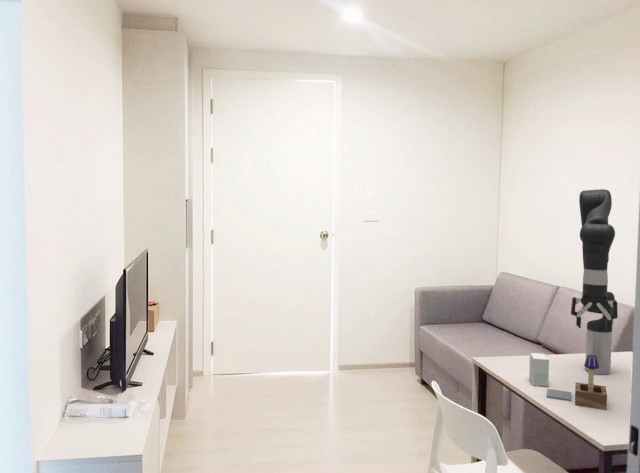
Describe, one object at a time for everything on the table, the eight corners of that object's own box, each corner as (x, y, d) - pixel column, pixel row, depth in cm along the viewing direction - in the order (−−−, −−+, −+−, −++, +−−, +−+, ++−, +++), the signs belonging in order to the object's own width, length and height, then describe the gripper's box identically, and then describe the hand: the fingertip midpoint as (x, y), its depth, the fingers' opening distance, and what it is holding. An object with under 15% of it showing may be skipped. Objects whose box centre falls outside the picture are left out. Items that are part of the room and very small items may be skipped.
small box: (548, 386, 204) (549, 359, 204) (532, 385, 205) (533, 358, 205) (544, 379, 212) (545, 353, 211) (528, 378, 213) (529, 352, 212)
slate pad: (547, 390, 201) (547, 388, 201) (571, 393, 197) (571, 392, 197) (546, 397, 194) (546, 395, 193) (571, 401, 190) (571, 399, 190)
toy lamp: (579, 400, 191) (581, 353, 190) (592, 399, 192) (594, 353, 190) (587, 405, 186) (589, 357, 185) (600, 405, 187) (602, 357, 185)
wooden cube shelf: (575, 395, 195) (575, 382, 195) (605, 400, 191) (605, 386, 191) (574, 405, 187) (575, 390, 186) (606, 409, 183) (607, 395, 182)
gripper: (618, 282, 186) (615, 328, 187) (572, 279, 192) (570, 324, 193) (619, 285, 179) (617, 333, 181) (572, 282, 185) (570, 329, 187)
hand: (593, 328), depth 187 cm, fingers open, 8 cm apart
